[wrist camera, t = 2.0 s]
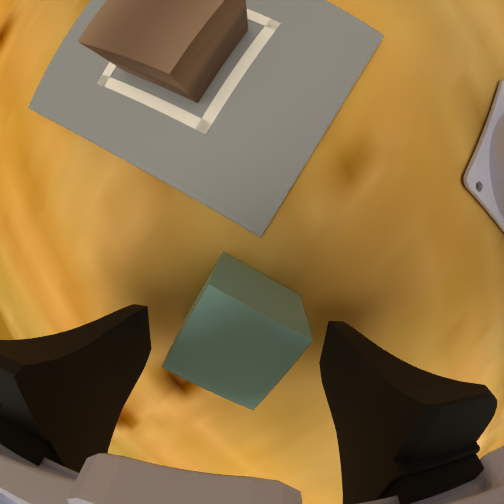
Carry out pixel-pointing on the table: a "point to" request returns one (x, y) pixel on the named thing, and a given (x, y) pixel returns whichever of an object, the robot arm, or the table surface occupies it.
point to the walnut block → (168, 39)
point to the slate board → (220, 106)
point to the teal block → (240, 334)
